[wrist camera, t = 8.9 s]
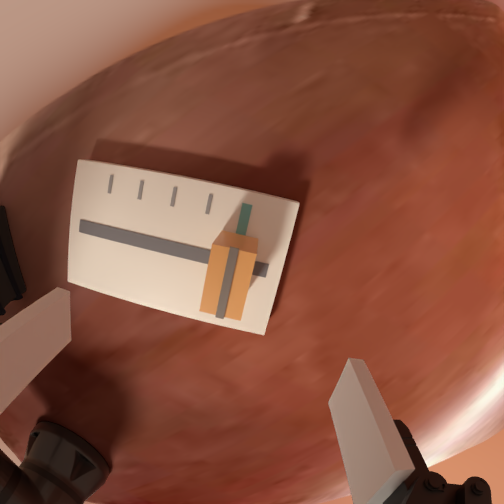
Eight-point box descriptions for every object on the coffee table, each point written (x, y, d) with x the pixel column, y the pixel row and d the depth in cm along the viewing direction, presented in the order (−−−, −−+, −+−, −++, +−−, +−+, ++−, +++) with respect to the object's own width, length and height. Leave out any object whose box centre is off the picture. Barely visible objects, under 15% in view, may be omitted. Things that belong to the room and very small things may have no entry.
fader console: (264, 324, 30) (264, 335, 27) (77, 275, 29) (67, 281, 27) (297, 201, 26) (299, 203, 24) (88, 159, 26) (77, 159, 24)
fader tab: (244, 296, 26) (240, 323, 22) (210, 288, 26) (198, 313, 22) (258, 237, 25) (257, 253, 20) (222, 229, 25) (212, 242, 20)
